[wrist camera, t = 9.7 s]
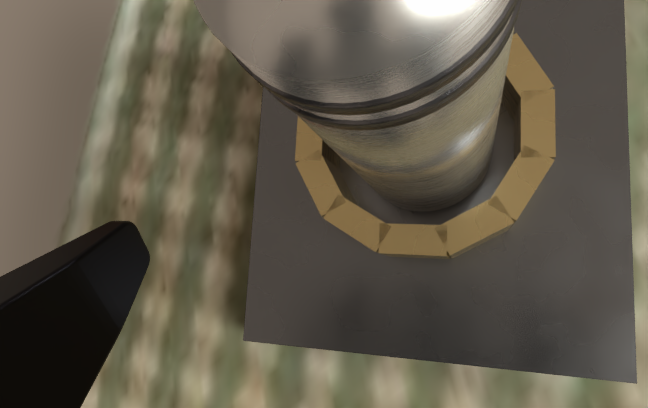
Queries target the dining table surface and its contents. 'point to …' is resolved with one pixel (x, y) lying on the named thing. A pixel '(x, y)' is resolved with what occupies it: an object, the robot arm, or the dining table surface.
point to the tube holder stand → (468, 225)
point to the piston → (383, 82)
